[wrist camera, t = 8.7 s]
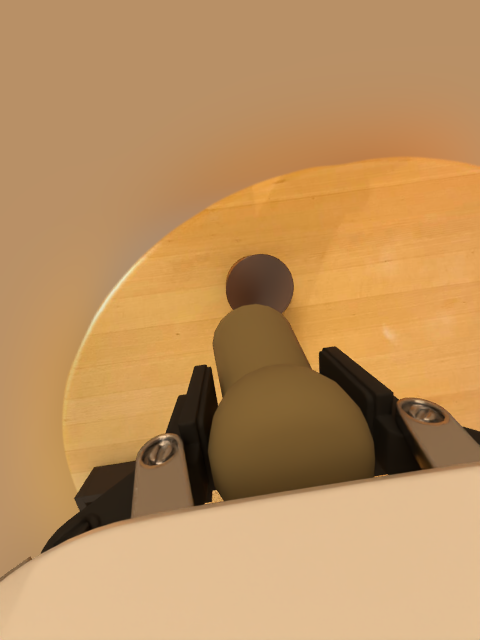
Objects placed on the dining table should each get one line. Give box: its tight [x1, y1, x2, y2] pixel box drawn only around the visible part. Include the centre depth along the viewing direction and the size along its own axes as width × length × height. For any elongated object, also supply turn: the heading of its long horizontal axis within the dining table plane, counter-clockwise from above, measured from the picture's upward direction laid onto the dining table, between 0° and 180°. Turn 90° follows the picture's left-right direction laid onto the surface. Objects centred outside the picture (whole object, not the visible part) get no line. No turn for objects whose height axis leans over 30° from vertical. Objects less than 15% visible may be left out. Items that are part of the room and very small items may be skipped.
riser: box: [226, 254, 294, 314], centre depth 28 cm, size 8×8×6 cm
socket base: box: [74, 461, 136, 511], centre depth 36 cm, size 9×9×5 cm
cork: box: [208, 304, 375, 501], centre depth 11 cm, size 6×6×11 cm
